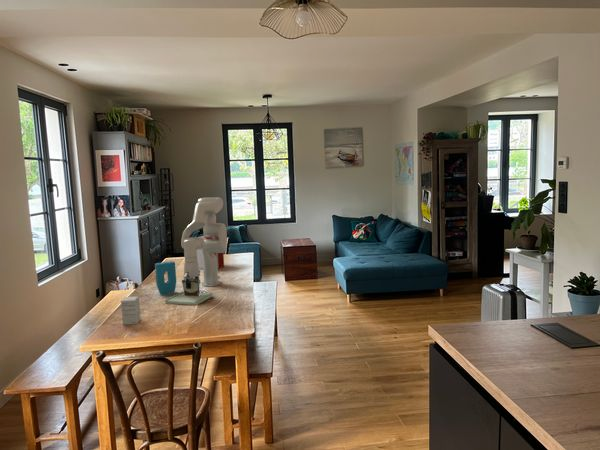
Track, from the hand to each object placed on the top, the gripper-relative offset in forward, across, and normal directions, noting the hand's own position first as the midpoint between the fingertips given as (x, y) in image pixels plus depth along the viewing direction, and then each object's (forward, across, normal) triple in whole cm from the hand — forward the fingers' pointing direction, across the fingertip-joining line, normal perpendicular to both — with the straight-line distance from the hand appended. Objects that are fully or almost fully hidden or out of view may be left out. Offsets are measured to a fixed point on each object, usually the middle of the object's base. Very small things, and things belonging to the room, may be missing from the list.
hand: (192, 286), depth 272 cm
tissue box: (+7, -83, -34) cm, 90 cm away
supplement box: (+7, +48, -8) cm, 49 cm away
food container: (+6, 0, 0) cm, 6 cm away
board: (+7, +5, 0) cm, 8 cm away
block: (+7, -6, -23) cm, 25 cm away
